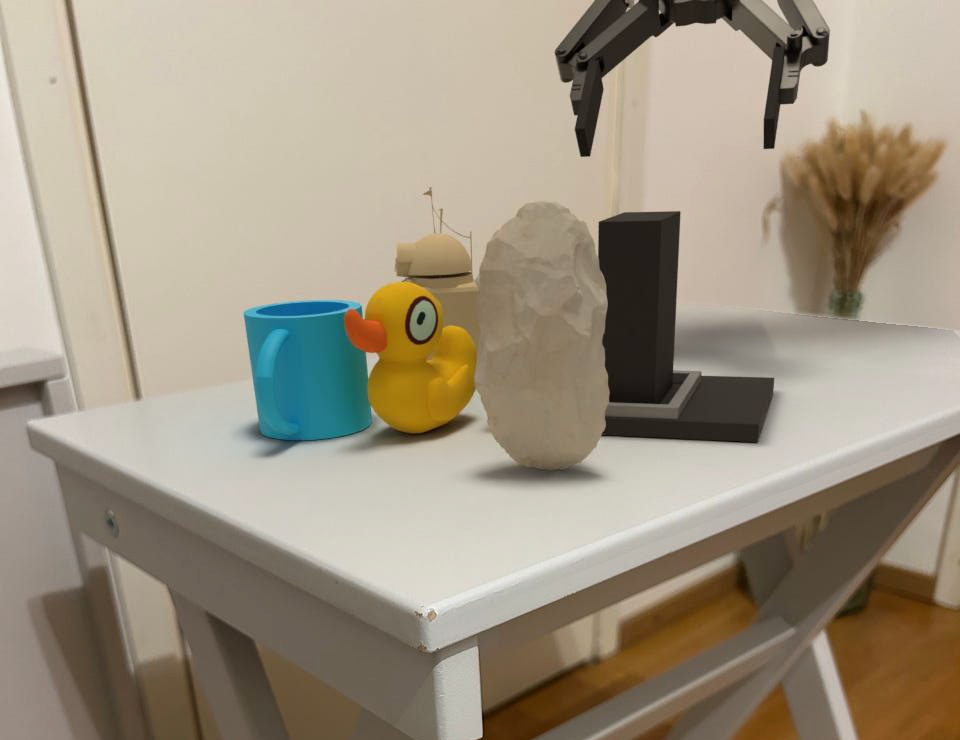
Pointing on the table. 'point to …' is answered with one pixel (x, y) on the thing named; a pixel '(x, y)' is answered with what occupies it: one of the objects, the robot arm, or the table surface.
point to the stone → (543, 338)
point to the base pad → (697, 410)
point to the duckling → (413, 358)
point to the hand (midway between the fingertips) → (673, 139)
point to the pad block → (639, 303)
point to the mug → (307, 370)
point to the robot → (443, 276)
